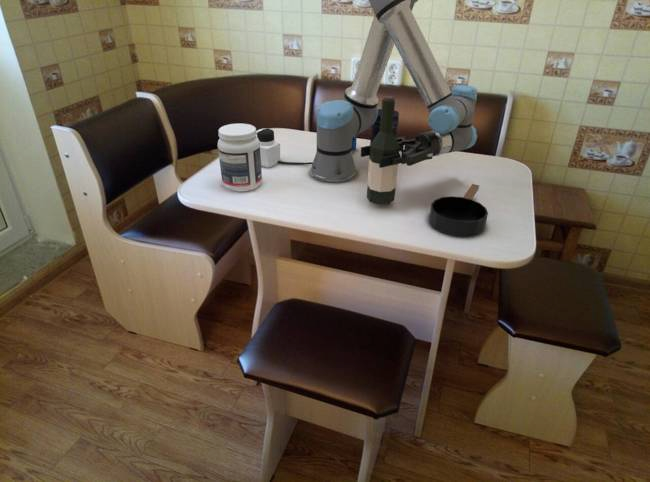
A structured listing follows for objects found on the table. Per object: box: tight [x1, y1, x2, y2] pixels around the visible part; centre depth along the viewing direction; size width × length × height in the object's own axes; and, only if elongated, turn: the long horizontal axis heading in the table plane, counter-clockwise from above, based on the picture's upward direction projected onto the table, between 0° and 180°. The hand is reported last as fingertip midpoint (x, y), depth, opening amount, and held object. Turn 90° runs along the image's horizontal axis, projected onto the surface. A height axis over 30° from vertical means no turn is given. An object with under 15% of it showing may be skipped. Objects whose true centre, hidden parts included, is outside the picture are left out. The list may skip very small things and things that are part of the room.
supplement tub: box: [217, 123, 263, 192], centre depth 142 cm, size 13×13×18 cm
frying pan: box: [428, 183, 489, 238], centre depth 130 cm, size 26×15×5 cm, turn 150°
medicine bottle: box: [256, 127, 282, 169], centre depth 159 cm, size 7×7×12 cm
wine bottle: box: [366, 95, 400, 206], centre depth 128 cm, size 8×8×30 cm
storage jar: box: [369, 108, 400, 145], centre depth 169 cm, size 10×10×15 cm
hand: (370, 157), depth 126 cm, fingers closed on wine bottle, 8 cm apart
